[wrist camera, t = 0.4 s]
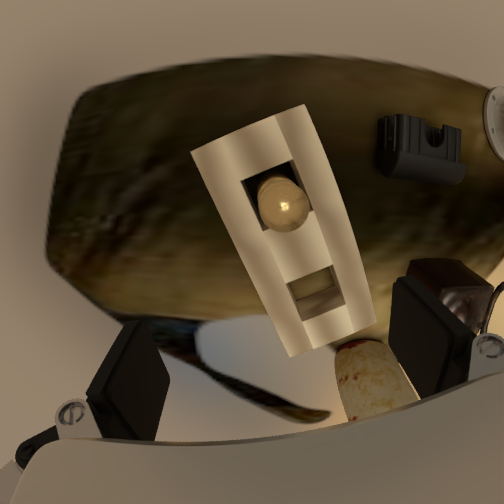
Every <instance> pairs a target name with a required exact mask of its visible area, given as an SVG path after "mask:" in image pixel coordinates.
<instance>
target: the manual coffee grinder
mask: <svg viewBox="0 0 504 504" xmlns="http://www.w3.org/2000/svg"><path fill="white" fill-rule="evenodd" d="M407 275H413V276H414V277H415V278H416V279H417V280H418V281H420V282H421V283H422V284H423V285H424V286H425V287H426V288H427V289H428V290H429V291H430V292H432V293H433V294H434V295H435V296H436V297H437V298H438V299H439V300H440V301H441V302H442V303H443V304H444V305H445V306H446V307H448V308H449V309H450V310H451V311H452V312H453V313H454V314H455V315H456V316H457V317H458V318H459V319H460V320H461V321H462V322H463V323H464V324H465V325H466V326H467V327H468V328H469V329H470V330H471V331H472V333H471V336H472V337H473V338H474V339H475V338H476V336H477V333H478V332H479V330H480V329H481V330H480V334H484V333H487V327H488V323H489V320H490V317H491V314H492V311H493V308H494V304H495V302H496V300H497V298H498V296H499V295H500V293H501V292H502V291H503V290H504V282H502V283H501V284H500V285H498V286H497V288H496V289H495V291H494V287H493V286H492V285H491V284H490V283H488V282H487V281H486V280H484V279H483V278H482V277H480V276H479V275H478V274H476V273H475V272H473V271H472V270H471V269H469V268H468V267H467V266H465V265H464V264H463V263H462V262H461V261H457V260H452V259H432V258H425V259H419V260H412V261H411V262H410V265H409V267H408V270H407V274H406V276H407ZM493 291H494V292H493Z"/></svg>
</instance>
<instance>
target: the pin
mask: <svg viewBox="0 0 504 504" xmlns="http://www.w3.org/2000/svg"><path fill="white" fill-rule="evenodd" d="M257 197H258V205H259V213H260V216H261V219H262V221H263V222H264V224H265V225H266V226H267V227H269V228H270V229H272V230H274V231H277V232H282V233H286V232H291V231H294V230H296V229H298V228H299V227H301V226H302V225H303V224H304V222H305V221H306V219H307V217H308V214H309V201H308V198H307V196H306V194H305V193H304V192H303V190H301V189H300V188H299V187H298V186H297V185H296V184H294V183H293V182H292V181H291V180H290V179H289V178H287V177H286V176H285V175H284V174H282V173H280V172H268V173H266V174H264V175H263V176H262V177H261V178H260V179H259V181H258V183H257Z"/></svg>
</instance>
